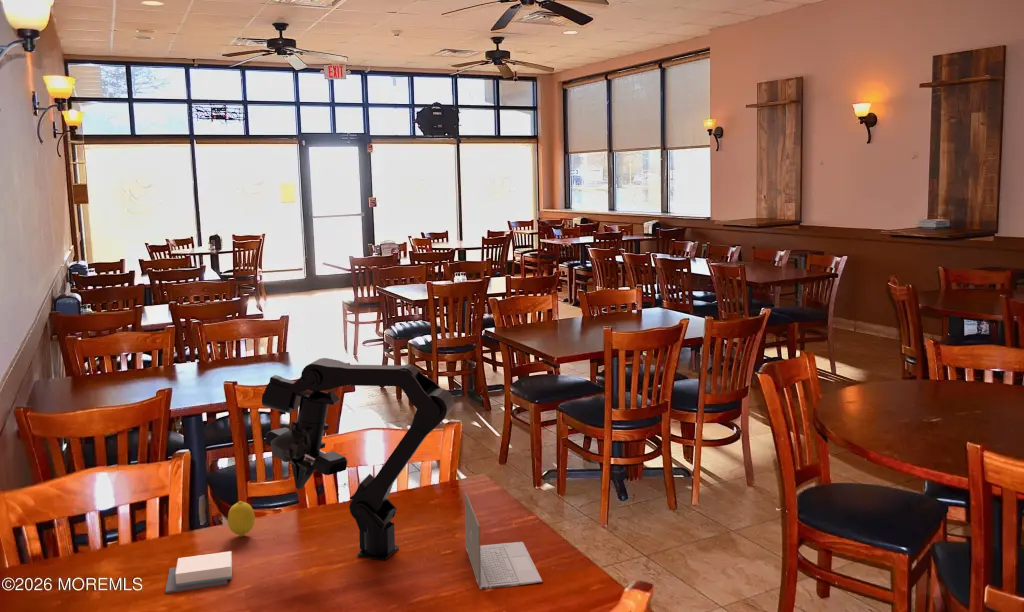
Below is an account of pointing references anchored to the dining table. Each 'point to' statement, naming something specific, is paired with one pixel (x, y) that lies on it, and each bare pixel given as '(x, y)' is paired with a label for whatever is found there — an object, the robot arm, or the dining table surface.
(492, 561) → the laptop
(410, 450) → the robot arm
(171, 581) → the mat
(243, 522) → the lemon
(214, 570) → the white rectangular block
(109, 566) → the dining table surface
